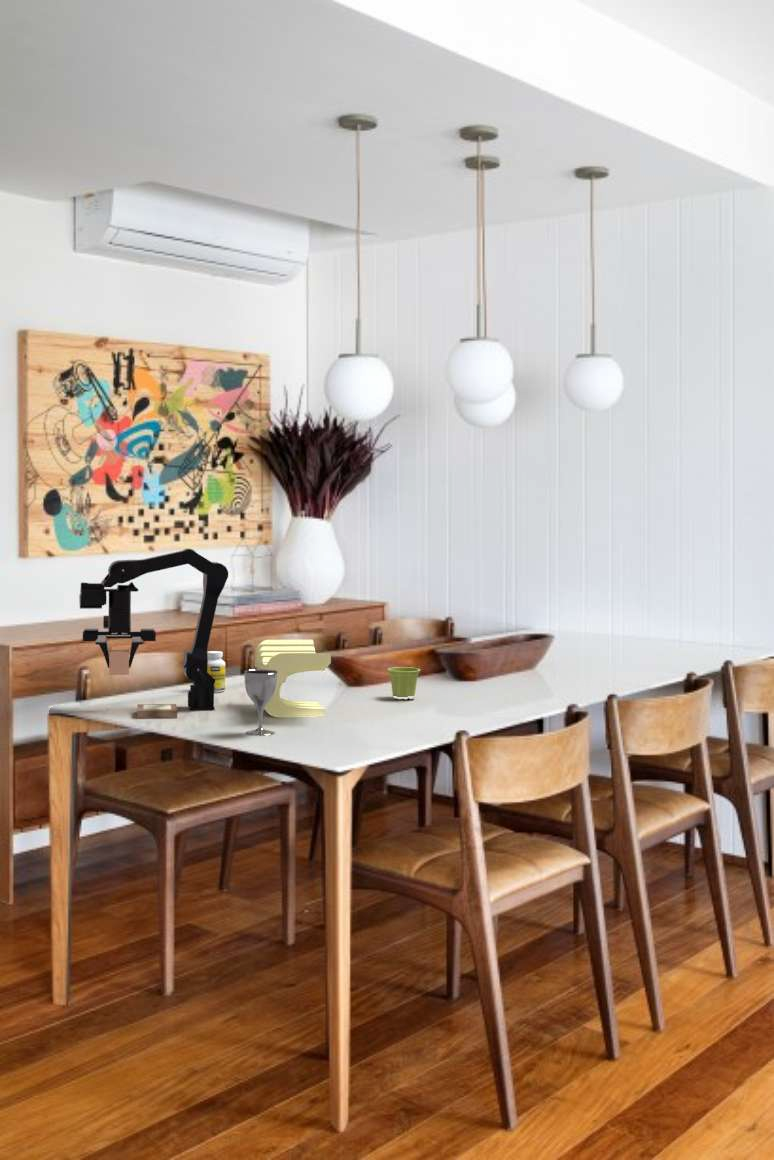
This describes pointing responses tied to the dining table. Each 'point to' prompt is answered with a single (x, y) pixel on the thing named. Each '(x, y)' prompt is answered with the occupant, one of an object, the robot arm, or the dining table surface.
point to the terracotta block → (119, 662)
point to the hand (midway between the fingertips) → (119, 667)
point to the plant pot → (403, 681)
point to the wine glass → (260, 693)
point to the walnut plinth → (156, 711)
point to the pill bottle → (217, 670)
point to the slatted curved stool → (290, 672)
